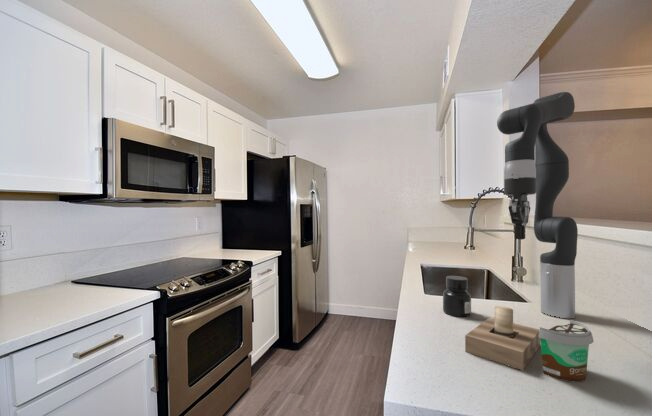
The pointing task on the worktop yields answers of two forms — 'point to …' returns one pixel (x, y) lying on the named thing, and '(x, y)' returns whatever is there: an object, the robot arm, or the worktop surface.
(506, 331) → the peg
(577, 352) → the food container
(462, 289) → the ink bottle
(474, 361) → the worktop surface
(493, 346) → the board
